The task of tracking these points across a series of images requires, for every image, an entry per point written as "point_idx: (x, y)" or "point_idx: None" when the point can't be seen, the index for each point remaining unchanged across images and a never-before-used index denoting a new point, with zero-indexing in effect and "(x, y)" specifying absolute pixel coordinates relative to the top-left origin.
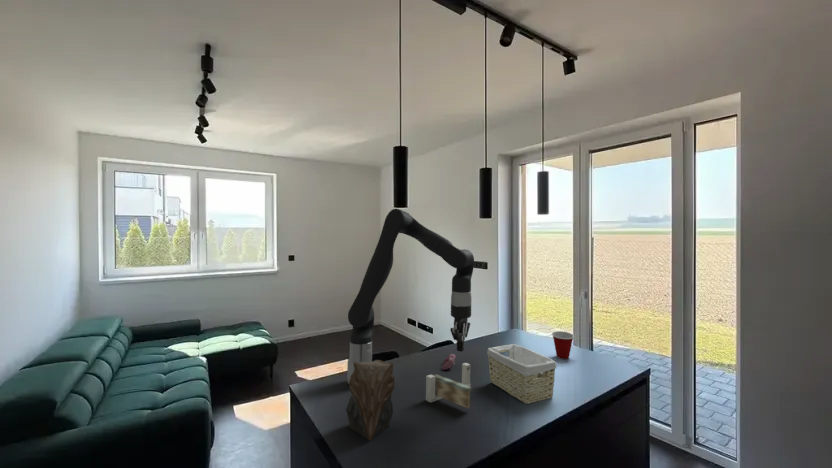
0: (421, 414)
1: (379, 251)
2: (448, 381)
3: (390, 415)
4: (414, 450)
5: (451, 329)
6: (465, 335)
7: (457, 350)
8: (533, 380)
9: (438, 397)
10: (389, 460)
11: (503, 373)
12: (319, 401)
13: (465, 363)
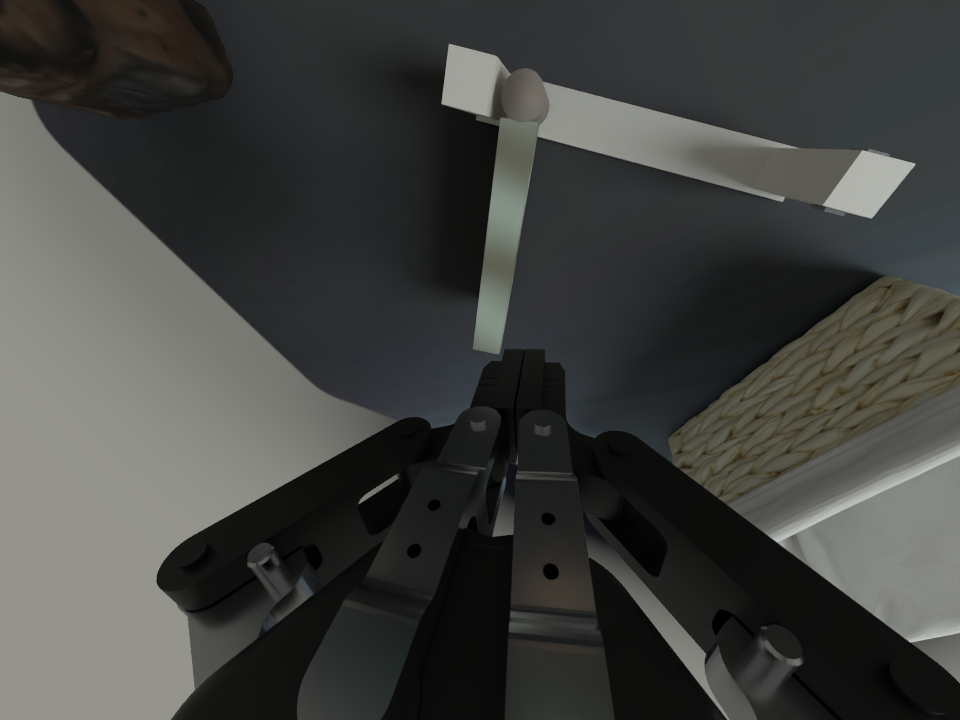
0: (369, 154)
1: None
2: (488, 229)
3: (188, 100)
4: (232, 266)
5: (172, 576)
6: (588, 517)
7: (506, 352)
8: None
9: None
10: (160, 237)
11: (813, 405)
12: None
13: (889, 171)
